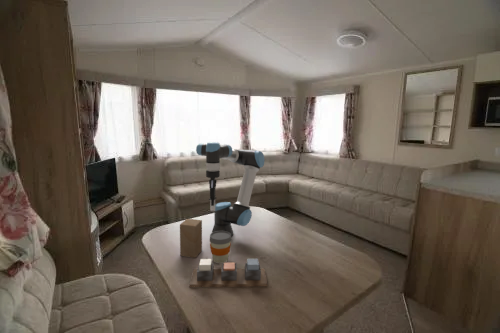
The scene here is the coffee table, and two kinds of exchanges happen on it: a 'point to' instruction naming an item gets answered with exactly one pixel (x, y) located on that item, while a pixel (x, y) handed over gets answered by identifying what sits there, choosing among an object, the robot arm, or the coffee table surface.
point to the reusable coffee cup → (220, 246)
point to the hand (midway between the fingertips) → (212, 210)
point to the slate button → (252, 264)
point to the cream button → (205, 265)
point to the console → (228, 277)
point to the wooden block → (190, 238)
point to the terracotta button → (229, 266)
